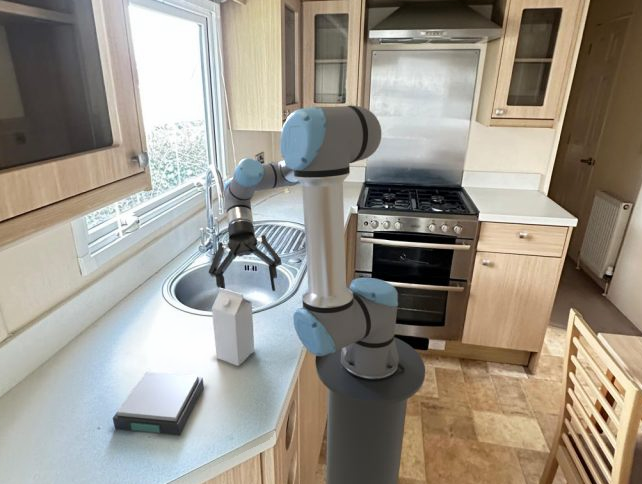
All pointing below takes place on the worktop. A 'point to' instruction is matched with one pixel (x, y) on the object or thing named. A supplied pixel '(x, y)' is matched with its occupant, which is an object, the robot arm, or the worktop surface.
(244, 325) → the milk carton
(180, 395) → the kitchen scale
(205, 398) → the worktop surface
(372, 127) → the robot arm
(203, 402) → the worktop surface
